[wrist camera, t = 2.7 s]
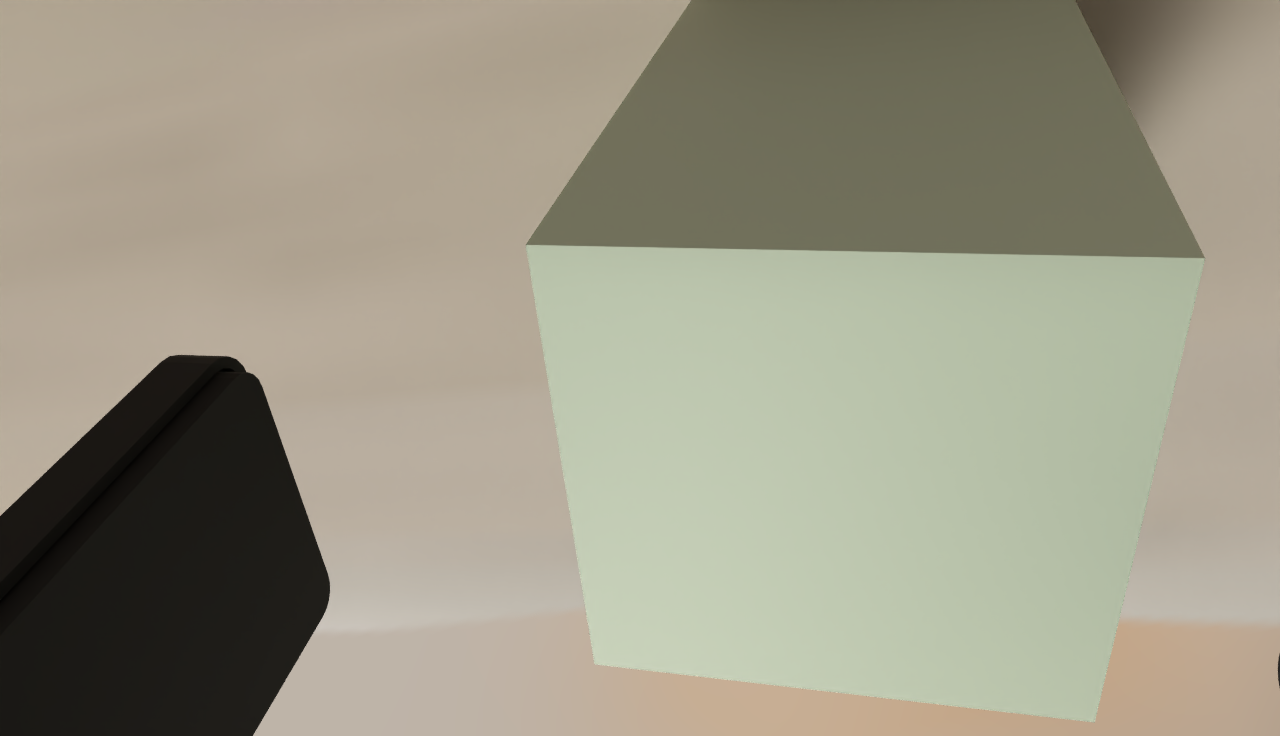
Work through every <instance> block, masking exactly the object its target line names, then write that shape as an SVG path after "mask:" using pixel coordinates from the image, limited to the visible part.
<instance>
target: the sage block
mask: <svg viewBox="0 0 1280 736" xmlns="http://www.w3.org/2000/svg"><path fill="white" fill-rule="evenodd" d="M526 250H527V256H528V262H529V268H530V274H531V280H532V286H533V293H534V299H535V305H536V311H537V317H538V323H539V329H540V335H541V341H542V347H543V353H544V359H545V366H546V372H547V378H548V384H549V390H550V396H551V402H552V408H553V414H554V420H555V426H556V432H557V439H558V445H559V451H560V457H561V463H562V469H563V475H564V481H565V487H566V493H567V499H568V505H569V511H570V518H571V524H572V530H573V536H574V542H575V548H576V554H577V560H578V566H579V572H580V578H581V584H582V591H583V597H584V603H585V609H586V615H587V621H588V627H589V633H590V639H591V645H592V651H593V657H594V663H595V664H597V665H605V666H615V667H623V668H632V669H640V670H648V671H657V672H666V673H675V674H683V675H692V676H701V677H709V678H717V679H727V680H734V681H744V682H752V683H760V684H769V685H777V686H786V687H795V688H803V689H813V690H821V691H829V692H838V693H846V694H855V695H864V696H873V697H881V698H889V699H898V700H906V701H916V702H925V703H933V704H941V705H950V706H958V707H967V708H976V709H984V710H993V711H1001V712H1010V713H1018V714H1027V715H1035V716H1045V717H1054V718H1061V719H1070V720H1078V721H1087V722H1095V718H1096V714H1097V710H1098V705H1099V702H1100V697H1101V693H1102V689H1103V685H1104V680H1105V676H1106V671H1107V668H1108V664H1109V659H1110V655H1111V651H1112V647H1113V642H1114V638H1115V634H1116V630H1117V626H1118V622H1119V618H1120V613H1121V609H1122V605H1123V601H1124V597H1125V592H1126V588H1127V584H1128V580H1129V576H1130V571H1131V567H1132V563H1133V559H1134V555H1135V550H1136V546H1137V542H1138V538H1139V534H1140V529H1141V525H1142V521H1143V517H1144V513H1145V508H1146V504H1147V500H1148V496H1149V492H1150V488H1151V483H1152V479H1153V475H1154V471H1155V467H1156V462H1157V458H1158V454H1159V450H1160V446H1161V441H1162V437H1163V433H1164V429H1165V425H1166V420H1167V416H1168V412H1169V408H1170V404H1171V399H1172V395H1173V391H1174V387H1175V383H1176V378H1177V374H1178V370H1179V366H1180V362H1181V357H1182V353H1183V349H1184V345H1185V341H1186V336H1187V332H1188V328H1189V324H1190V320H1191V315H1192V311H1193V307H1194V303H1195V299H1196V294H1197V290H1198V286H1199V282H1200V278H1201V273H1202V269H1203V265H1204V261H1205V257H1204V255H1203V253H1202V251H1201V249H1200V247H1199V245H1198V243H1197V241H1196V239H1195V237H1194V235H1193V233H1192V231H1191V229H1190V227H1189V225H1188V223H1187V221H1186V219H1185V217H1184V215H1183V213H1182V211H1181V209H1180V207H1179V205H1178V204H1177V202H1176V200H1175V198H1174V196H1173V194H1172V192H1171V190H1170V188H1169V186H1168V184H1167V182H1166V180H1165V178H1164V176H1163V174H1162V172H1161V170H1160V168H1159V166H1158V164H1157V162H1156V160H1155V158H1154V156H1153V154H1152V152H1151V150H1150V148H1149V146H1148V144H1147V142H1146V140H1145V138H1144V136H1143V134H1142V132H1141V130H1140V128H1139V126H1138V124H1137V122H1136V120H1135V118H1134V116H1133V114H1132V112H1131V110H1130V108H1129V106H1128V104H1127V102H1126V100H1125V98H1124V96H1123V94H1122V92H1121V90H1120V88H1119V87H1118V85H1117V83H1116V81H1115V79H1114V77H1113V75H1112V73H1111V71H1110V69H1109V67H1108V65H1107V63H1106V61H1105V59H1104V57H1103V55H1102V53H1101V51H1100V49H1099V47H1098V45H1097V43H1096V41H1095V39H1094V37H1093V35H1092V33H1091V31H1090V29H1089V27H1088V25H1087V23H1086V21H1085V19H1084V17H1083V15H1082V13H1081V11H1080V9H1079V7H1078V5H1077V3H1076V1H1075V0H691V2H690V3H689V5H688V6H687V8H686V9H685V11H684V12H683V14H682V15H681V17H680V18H679V20H678V21H677V22H676V24H675V25H674V27H673V28H672V30H671V31H670V33H669V34H668V36H667V37H666V39H665V40H664V42H663V43H662V45H661V46H660V48H659V49H658V51H657V52H656V53H655V55H654V56H653V58H652V59H651V61H650V62H649V64H648V65H647V67H646V68H645V70H644V71H643V73H642V74H641V76H640V77H639V79H638V80H637V81H636V83H635V84H634V86H633V87H632V89H631V90H630V92H629V93H628V95H627V96H626V98H625V99H624V101H623V102H622V104H621V105H620V107H619V108H618V109H617V111H616V112H615V114H614V115H613V117H612V118H611V120H610V121H609V123H608V124H607V126H606V127H605V129H604V130H603V132H602V133H601V135H600V136H599V138H598V139H597V140H596V142H595V143H594V145H593V146H592V148H591V149H590V151H589V152H588V154H587V155H586V157H585V158H584V160H583V161H582V163H581V164H580V166H579V167H578V168H577V170H576V171H575V173H574V174H573V176H572V177H571V179H570V180H569V182H568V183H567V185H566V186H565V188H564V189H563V191H562V192H561V194H560V195H559V197H558V198H557V199H556V201H555V202H554V204H553V205H552V207H551V208H550V210H549V211H548V213H547V214H546V216H545V217H544V219H543V220H542V222H541V223H540V225H539V226H538V227H537V229H536V230H535V232H534V233H533V235H532V236H531V238H530V239H529V241H528V242H527V244H526Z"/></svg>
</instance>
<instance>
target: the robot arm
mask: <svg viewBox="0 0 1280 736" xmlns="http://www.w3.org/2000/svg"><path fill="white" fill-rule="evenodd" d="M329 594H330V581H329V577H328V573H327V570H326V567H325V565H324V562H323V559H322V556H321V553H320V550H319V547H318V545H317V542H316V539H315V536H314V533H313V530H312V527H311V525H310V522H309V519H308V516H307V513H306V510H305V508H304V505H303V502H302V499H301V496H300V493H299V490H298V488H297V485H296V482H295V479H294V476H293V473H292V470H291V468H290V465H289V462H288V459H287V456H286V453H285V450H284V448H283V445H282V442H281V439H280V436H279V433H278V430H277V428H276V425H275V422H274V419H273V416H272V413H271V411H270V408H269V405H268V402H267V399H266V396H265V393H264V391H263V388H262V385H261V383H260V381H259V379H258V378H257V377H256V376H255V375H254V374H251V373H248V372H246V370H245V368H244V367H243V365H242V364H241V363H240V362H239V361H238V360H237V359H234V358H231V357H227V356H195V355H175V356H169V357H168V358H166V359H165V360H163V361H162V362H161V363H159V364H158V365H157V366H156V367H155V368H154V369H153V370H152V371H151V372H150V373H149V374H148V375H147V376H146V377H145V378H144V379H143V380H142V381H141V382H140V383H139V384H138V385H137V386H135V387H134V388H133V389H132V390H131V391H130V392H129V393H128V394H127V395H126V396H125V397H124V398H123V399H122V400H121V401H120V402H119V403H118V404H117V405H116V406H115V407H114V408H113V409H111V410H110V411H109V412H108V413H107V414H106V415H105V416H104V417H103V418H102V419H101V420H100V421H99V422H98V423H97V424H96V425H95V426H94V427H93V428H92V429H91V430H90V431H89V432H87V433H86V434H85V435H84V436H83V437H82V438H81V439H80V440H79V441H78V442H77V443H76V444H75V445H74V446H73V447H72V448H71V449H70V450H69V451H68V452H67V453H66V454H65V455H64V456H62V457H61V458H60V459H59V460H58V461H57V462H56V463H55V464H54V465H53V466H52V467H51V468H50V469H49V470H48V471H47V472H46V473H45V474H44V475H43V476H42V477H41V478H40V479H38V480H37V481H36V482H35V483H34V484H33V485H32V486H31V487H30V488H29V489H28V490H27V491H26V492H25V493H24V494H23V495H22V496H21V497H20V498H19V499H18V500H17V501H16V502H14V503H13V504H12V505H11V506H10V507H9V508H8V509H7V510H6V511H5V512H4V513H3V514H2V515H1V516H0V736H253V734H254V733H255V731H256V729H257V728H258V726H259V724H260V723H261V721H262V719H263V717H264V716H265V714H266V712H267V711H268V709H269V707H270V705H271V704H272V702H273V700H274V699H275V697H276V695H277V694H278V692H279V690H280V688H281V687H282V685H283V683H284V682H285V680H286V678H287V676H288V675H289V673H290V672H291V670H292V668H293V666H294V665H295V663H296V661H297V660H298V658H299V656H300V655H301V653H302V651H303V649H304V648H305V646H306V644H307V643H308V641H309V639H310V637H311V636H312V634H313V632H314V631H315V629H316V627H317V626H318V624H319V622H320V621H321V619H322V617H323V615H324V613H325V611H326V608H327V605H328V601H329ZM1278 680H1279V686H1280V655H1279V661H1278Z"/></svg>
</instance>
